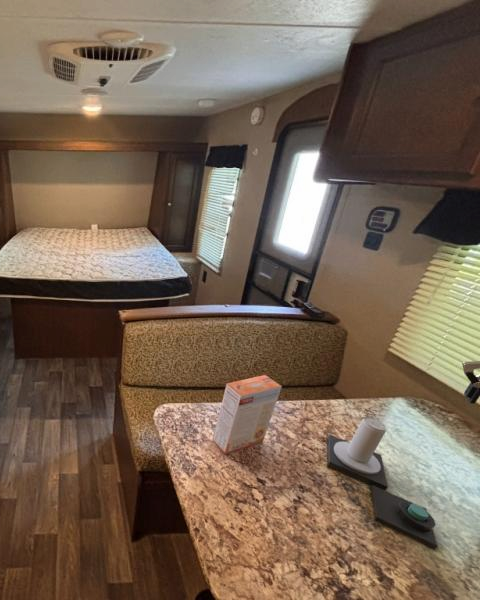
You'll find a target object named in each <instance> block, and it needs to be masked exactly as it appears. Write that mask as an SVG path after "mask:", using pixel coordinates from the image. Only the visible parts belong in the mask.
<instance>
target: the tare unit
mask: <svg viewBox="0 0 480 600" xmlns="http://www.w3.org/2000/svg"><path fill="white" fill-rule="evenodd" d="M369 492H370V498H371V506H372V511H373V518H374V521H375V522H376V523H379V524H380V525H383V526H384V527H386V528H389V529H391V530H393V531H395V532H397V533H400V534H401V535H403V536H404V537H405V536H406V537H407V538H410V539H412V540H413V541H416V542H418V543H420V544H423V545H424V546H427V547H428V548H430V549H433V550H436V549H437V547H438V541H437V539H436V536H435V533H434V528H435V527H436V525H437V524H436V520H435V518H434V517H433V516H432V515H431V514H430V513H429V512H428V510H427V508H426V507H423V506H421V505H419V506H420V507H422V508H423V509H425V510H426V511H427V513H428V517H427V519H426V520H425V521H419V520H417V519H415V518H414V517H413V516H411V515H410V514H409V513H408V510H407V509H408V508H409V506H410V505H411V504H416V505H418V504H417V503H414V502H412V501H410V500H407V499H405V498H403V497H401V496H398V495H396V494H394V493H392V492H390V491H387V490H386V491H385V490H382V489H380V488H378V487H376V486H373V485H372V486H370V488H369Z"/></svg>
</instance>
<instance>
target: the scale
mask: <svg viewBox="0 0 480 600" xmlns="http://www.w3.org/2000/svg"><path fill="white" fill-rule="evenodd" d="M350 443H351V441H347V440H345V439H342V438H340V437H337V436H334V435H332V434H328V436H327V438H326V467H327V468H329V469H330V470H331V469H332V470H334V471H336V472H338V473H341V474H343V475H345V476H347V477H349V478H352V479H354V480H357V481H358V482H361V483H362V484H365V485H368V486H370V487H371V486H372V485H373V486H376V487H378V488H380V489H382V490H385V491H387V489H388V488H389V486H388V482H387V477H386V471H385V467H384V462H383V461H384V460H383V457H382V454H380V453H378V452H375V451H374V453H373V455H372V457H371V458H370V460H369V462H366V463H362V462H358V461H356V460H354V459H353V458H351V457H350V455H349V454H348V452H347V449H348V447H349V445H350Z"/></svg>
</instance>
